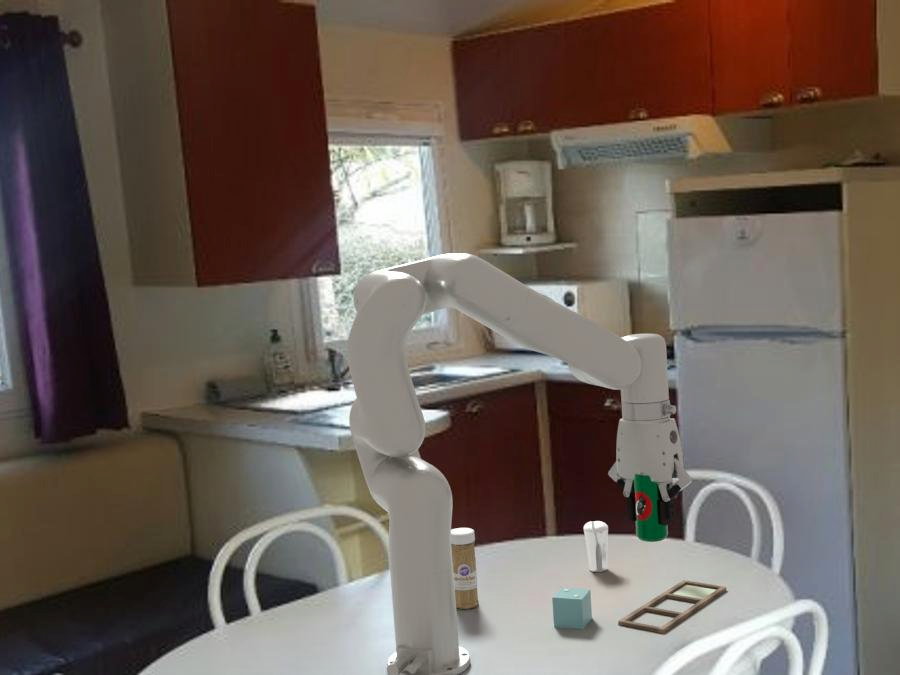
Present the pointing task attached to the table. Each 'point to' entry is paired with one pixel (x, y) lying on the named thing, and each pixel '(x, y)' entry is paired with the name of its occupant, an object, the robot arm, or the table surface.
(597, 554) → the milkshake
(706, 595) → the wooden frame
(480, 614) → the table surface
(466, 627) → the table surface
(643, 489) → the soda can
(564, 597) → the die
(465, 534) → the sprinkles bottle
